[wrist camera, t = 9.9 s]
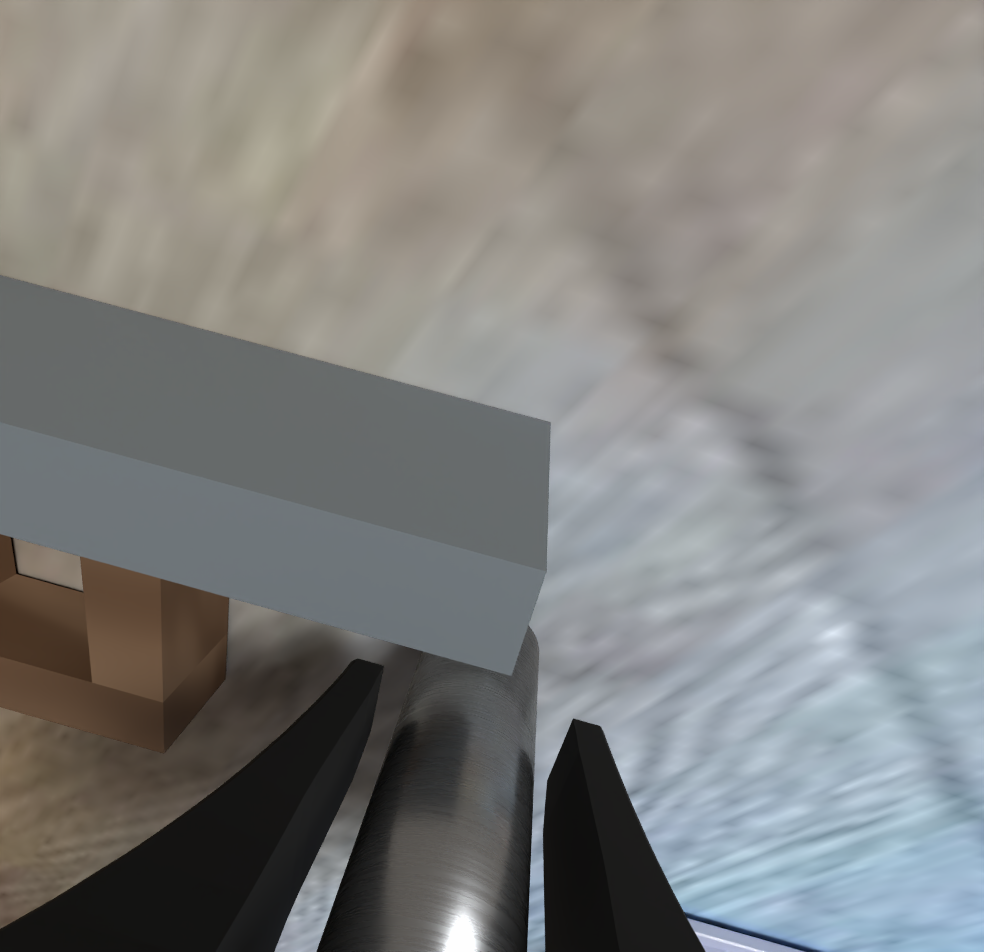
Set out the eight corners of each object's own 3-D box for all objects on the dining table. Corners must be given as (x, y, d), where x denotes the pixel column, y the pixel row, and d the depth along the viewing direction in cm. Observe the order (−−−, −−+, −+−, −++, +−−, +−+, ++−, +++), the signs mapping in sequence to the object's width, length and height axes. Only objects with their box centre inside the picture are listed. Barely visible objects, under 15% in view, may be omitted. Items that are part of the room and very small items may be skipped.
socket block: (225, 679, 15) (163, 753, 12) (-32, 606, 15) (-140, 667, 13) (236, 425, 12) (157, 461, 9) (-89, 337, 12) (-244, 351, 10)
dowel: (522, 705, 14) (486, 1187, 7) (418, 676, 14) (266, 1123, 7) (552, 620, 13) (550, 1089, 5) (439, 589, 13) (283, 1010, 5)
